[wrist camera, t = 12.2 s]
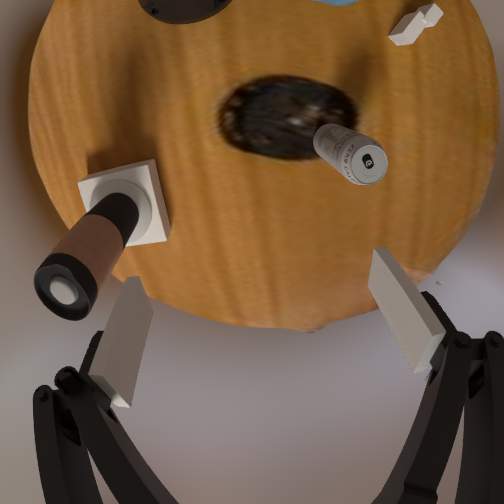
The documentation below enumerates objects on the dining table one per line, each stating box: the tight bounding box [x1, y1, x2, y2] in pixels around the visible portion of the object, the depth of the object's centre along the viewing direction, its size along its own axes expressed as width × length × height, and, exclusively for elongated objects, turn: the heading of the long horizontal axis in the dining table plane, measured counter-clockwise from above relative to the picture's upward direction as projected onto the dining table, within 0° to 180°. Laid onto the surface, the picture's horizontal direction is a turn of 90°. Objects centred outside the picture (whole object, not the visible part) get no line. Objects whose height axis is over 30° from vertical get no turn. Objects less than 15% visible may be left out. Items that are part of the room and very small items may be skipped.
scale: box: [77, 159, 171, 247], centre depth 43 cm, size 13×14×5 cm
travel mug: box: [34, 192, 139, 321], centre depth 32 cm, size 8×8×20 cm
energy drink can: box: [313, 123, 388, 185], centre depth 35 cm, size 6×6×15 cm
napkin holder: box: [387, 3, 443, 46], centre depth 27 cm, size 15×11×6 cm
